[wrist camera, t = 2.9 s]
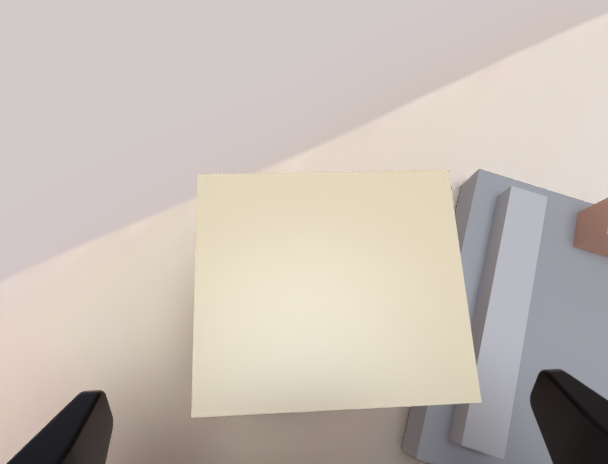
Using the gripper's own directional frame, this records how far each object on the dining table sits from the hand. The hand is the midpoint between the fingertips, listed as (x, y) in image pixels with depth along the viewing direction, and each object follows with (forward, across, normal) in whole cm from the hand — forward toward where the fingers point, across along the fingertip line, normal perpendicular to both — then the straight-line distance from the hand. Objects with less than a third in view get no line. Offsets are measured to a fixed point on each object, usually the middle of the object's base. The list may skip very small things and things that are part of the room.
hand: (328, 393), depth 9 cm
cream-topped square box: (+8, 0, +6) cm, 10 cm away
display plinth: (+7, -12, +6) cm, 15 cm away
